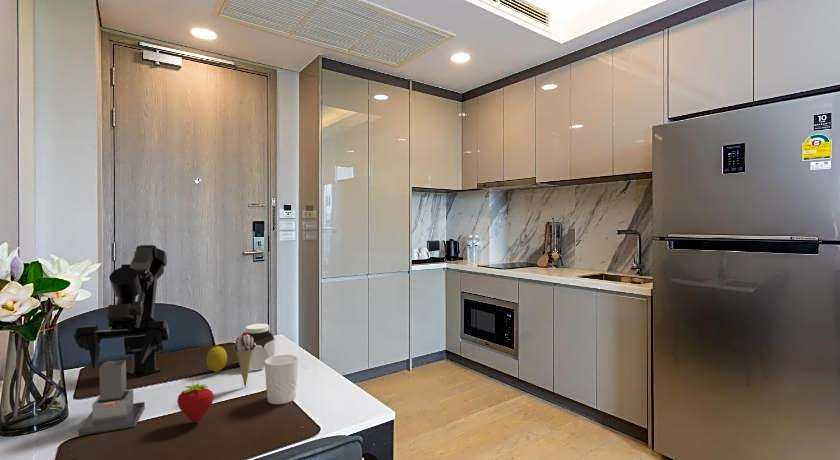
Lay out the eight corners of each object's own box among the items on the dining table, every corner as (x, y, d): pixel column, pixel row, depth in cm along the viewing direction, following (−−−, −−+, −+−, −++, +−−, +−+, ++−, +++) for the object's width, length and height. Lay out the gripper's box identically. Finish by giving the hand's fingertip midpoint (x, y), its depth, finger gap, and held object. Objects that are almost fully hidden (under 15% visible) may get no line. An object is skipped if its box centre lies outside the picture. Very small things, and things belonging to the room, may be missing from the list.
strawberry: (206, 429, 93) (205, 383, 92) (171, 429, 93) (170, 383, 92) (219, 416, 99) (218, 373, 98) (186, 416, 99) (186, 373, 98)
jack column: (105, 411, 98) (104, 361, 97) (126, 408, 99) (126, 359, 99) (100, 419, 94) (99, 367, 93) (122, 415, 95) (121, 365, 95)
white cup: (304, 395, 111) (303, 356, 111) (285, 407, 103) (284, 366, 103) (278, 390, 113) (278, 353, 113) (258, 403, 106) (257, 362, 106)
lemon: (219, 376, 124) (218, 349, 123) (202, 375, 125) (201, 347, 124) (231, 370, 129) (231, 343, 129) (215, 368, 130) (214, 342, 130)
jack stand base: (94, 415, 99) (93, 391, 99) (144, 408, 103) (144, 385, 103) (78, 435, 90) (78, 409, 90) (135, 426, 94) (134, 401, 94)
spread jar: (264, 356, 142) (263, 321, 141) (285, 363, 135) (285, 326, 135) (229, 366, 132) (229, 329, 132) (251, 374, 125) (250, 334, 125)
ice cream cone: (261, 385, 117) (260, 330, 117) (244, 393, 112) (244, 336, 111) (245, 382, 119) (245, 328, 119) (228, 389, 114) (228, 333, 114)
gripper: (75, 292, 101) (57, 352, 91) (166, 287, 108) (159, 343, 98) (87, 319, 108) (72, 377, 98) (172, 313, 116) (165, 366, 106)
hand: (117, 365), depth 100 cm, fingers open, 9 cm apart
